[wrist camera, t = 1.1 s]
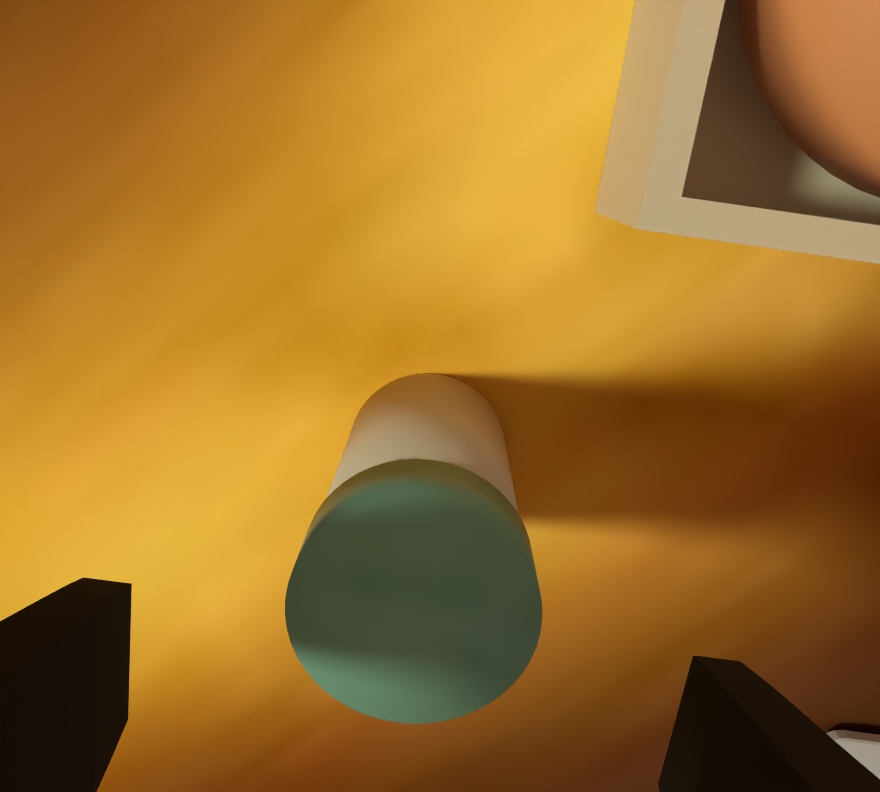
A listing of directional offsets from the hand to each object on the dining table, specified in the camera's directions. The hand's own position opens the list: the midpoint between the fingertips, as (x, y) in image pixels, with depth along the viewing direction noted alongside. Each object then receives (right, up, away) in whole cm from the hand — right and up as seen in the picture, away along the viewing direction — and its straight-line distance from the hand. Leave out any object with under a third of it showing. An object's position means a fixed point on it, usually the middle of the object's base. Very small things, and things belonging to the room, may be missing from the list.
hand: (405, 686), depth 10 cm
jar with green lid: (0, +3, +8) cm, 9 cm away
